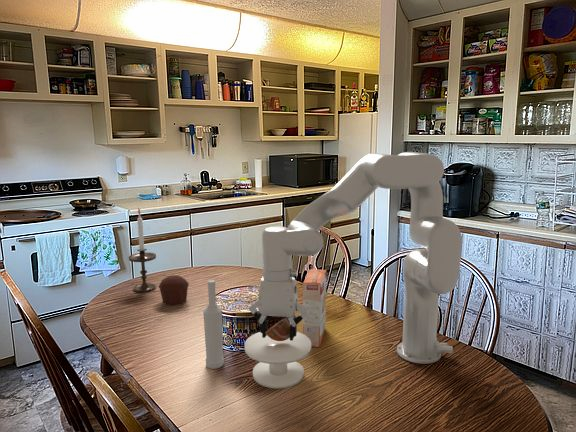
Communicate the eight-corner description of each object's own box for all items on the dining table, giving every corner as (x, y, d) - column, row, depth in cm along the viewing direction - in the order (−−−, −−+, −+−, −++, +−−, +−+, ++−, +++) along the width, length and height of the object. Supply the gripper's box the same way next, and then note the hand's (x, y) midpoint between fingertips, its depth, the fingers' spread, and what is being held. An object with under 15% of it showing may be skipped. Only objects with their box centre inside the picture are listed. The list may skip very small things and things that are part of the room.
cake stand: (316, 361, 129) (316, 332, 128) (304, 397, 112) (304, 364, 110) (256, 354, 133) (256, 326, 132) (236, 388, 116) (235, 356, 114)
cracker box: (321, 348, 137) (321, 283, 133) (301, 346, 138) (301, 282, 134) (326, 328, 150) (327, 269, 146) (308, 327, 152) (309, 268, 148)
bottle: (208, 371, 125) (205, 285, 120) (203, 362, 129) (199, 279, 124) (226, 366, 127) (223, 282, 122) (220, 358, 131) (217, 277, 127)
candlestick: (153, 293, 184) (147, 209, 178) (127, 293, 184) (120, 209, 178) (161, 284, 195) (156, 205, 188) (136, 284, 195) (130, 205, 188)
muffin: (195, 299, 177) (194, 275, 175) (175, 309, 168) (173, 283, 166) (174, 294, 183) (173, 270, 182) (153, 302, 174) (151, 278, 172)
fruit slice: (281, 349, 116) (281, 331, 115) (259, 343, 119) (259, 326, 118) (296, 336, 123) (296, 319, 122) (275, 331, 126) (274, 314, 125)
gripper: (312, 271, 119) (312, 333, 122) (250, 267, 123) (252, 328, 126) (307, 280, 112) (307, 346, 115) (241, 276, 116) (243, 340, 119)
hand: (278, 336), depth 121 cm, fingers closed on fruit slice, 7 cm apart
